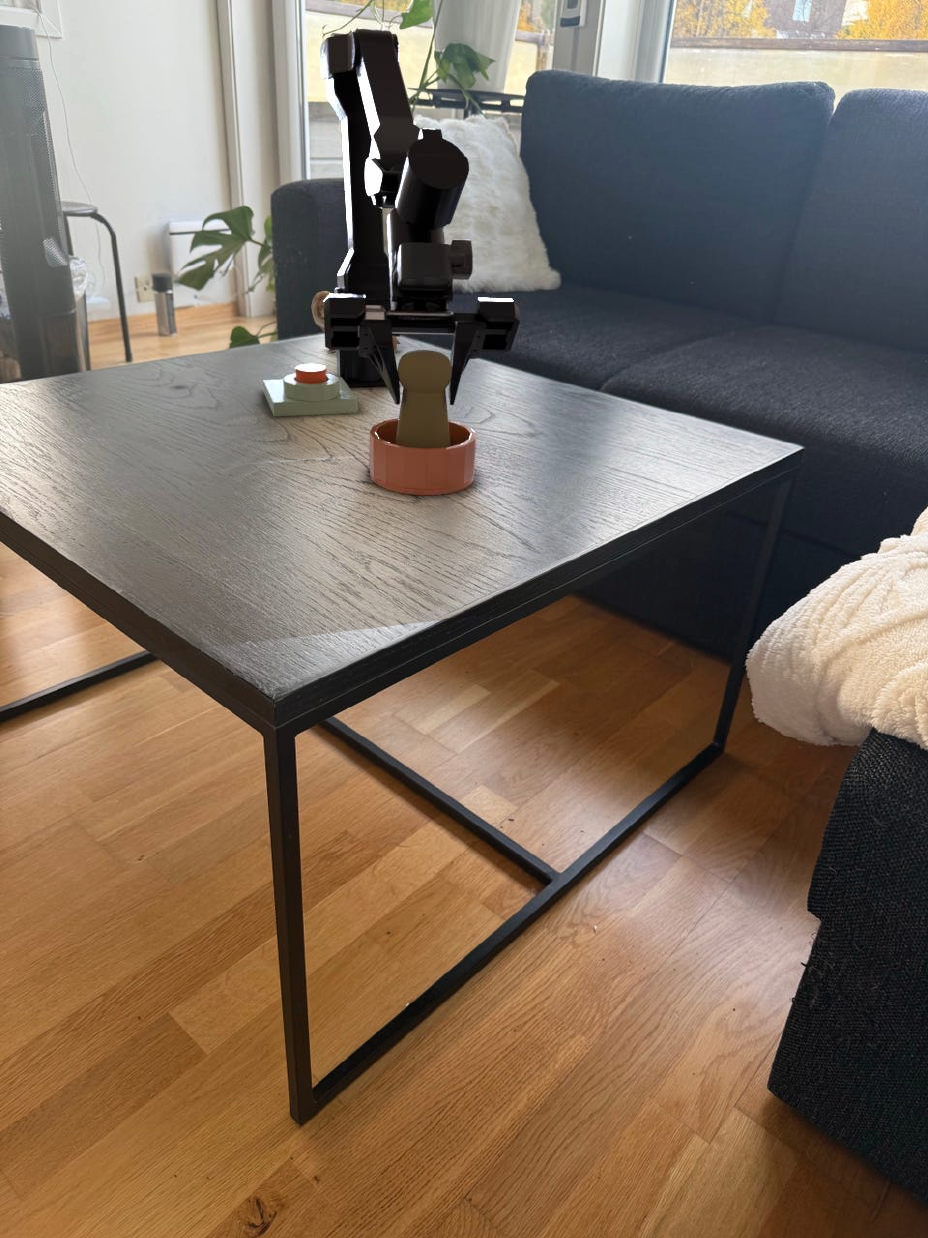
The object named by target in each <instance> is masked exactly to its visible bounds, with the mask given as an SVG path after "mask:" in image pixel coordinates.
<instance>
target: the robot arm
mask: <svg viewBox="0 0 928 1238" xmlns="http://www.w3.org/2000/svg"><path fill="white" fill-rule="evenodd" d="M319 49H320V50H319V69H320V70H319V71H320V76H321V79H322V80H325V87H326V98H327V100H328V103H329V105H331V107H332V109H333V111H334V112H335V115H336V116H337V117H338V119H339V121H340V122H341V134H342V152H343V169H344V170H343V174H344V191H345V192H344V193H345V210H346V211H345V212H346V229H347V231H346V232H347V248H348V249H347V251H348V253H347V255H346V257H345V259H344V262H343V263H342V265H341V267H340V269H339V270H338V273H337V275H336V277H337V278H336V279H337V281H336V283H337V287H335V288H334V289H333V290H334V291H333V294H329V295H328V296H327V297H326V298H325V300H324V331H323V333H324V347H325V348H326V349H328V350H329V349H330V350H336V351H335V360H336V362H335V363H336V365H335V366H336V376H337V377H342V378H343V380H344V381H345V383H346V384H347V385H348V387H349V388H355V387H356V388H357V387H358V388H359V387H360V388H361V387H385V386H386V388H387V390H388V392H389V394H390V396H391V398H392V400H393V402H394V404H395V405H396V406H397V405H398V406H399V405H401V383H400V381H399V376H398V364H397V359H396V353H395V351H394V347H393V338H392V336H396V338H397V337H399V338H400V337H401V334H402V335H403V334H404V335H445V336H446V335H447V336H448V335H450V336H453V340H452V346H451V350H450V355H449V356H450V357H449V360H450V362H451V366H452V377H451V380H450V383H449V385H448V393H447V394H448V395H447V396H448V402H449V405H450V406H454V405H455V402H456V398H457V394H458V391H459V388H460V387H459V386H460V383H461V380H462V376H463V374H464V372H465V369H466V368H467V366H468V363H469V362H470V360H476V359H479V358H480V356H481V353H484V354H486V353H487V354H489V353H490V354H505V353H507V352H510V351H511V350H512V347H513V345H514V343H515V342H514V341H515V338H516V335H517V333H518V329H519V326H520V323H521V316H520V307H519V305H518V304H517V303H516V302H515V300H513V298H496V297H494V298H493V297H491V298H490V297H477V301H476V305H475V308H474V312H453V311H450V304H453V300H454V285H453V283H454V281H455V280H456V281H460V280H461V281H462V280H463V281H468V280H469V279H470V278H471V276H472V274H473V269H474V255H473V245H472V244H473V243H472V240H471V239H455V238H454V239H452V240H451V244H449V243H446V239H445V227H446V226H449V225H451V223H452V222H453V219H454V216H455V213H456V211H457V209H458V204H459V202H460V199H461V196H462V194H463V190H464V188H465V186H466V182H467V179H468V176H469V173H470V162H469V159H468V157H467V156H466V155H465V154H464V152H463V151H462V150H461V149H460V147H458V146H457V145H456V144H454V143H453V142H451V141H450V140H448V139H445V138H444V137H443V132H442V129H441V128H427V127H426V128H425V127H424V128H422V127H421V128H420V127H419V126H418V125H417V123H416V121H415V119H414V114H413V111H412V106H411V103H410V100H409V95H408V91H407V88H406V84H405V80H404V77H403V73H402V68H401V64H400V42H399V38H398V35H397V33H392V32H391V30H389V29H375V28H364V27H363V28H362V27H357V28H356V29H355V30H351V29H350V30H349V31H348V32H347V33H339V32H338V33H336V32H332V33H330V36H328V37H326V38H325V39H324V40H323V41H322V43H321V44H320V48H319ZM383 209H391V211H390V212H389V213H388V215H387V217H386V228H387V229H386V230H387V232H386V233H387V253H388V255H387V253H386V252H385V241H384V240H385V239H384V215H383V214H384V213H383V212H384V211H383Z"/></svg>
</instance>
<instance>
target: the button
mask: <svg viewBox="0 0 928 1238" xmlns="http://www.w3.org/2000/svg"><path fill="white" fill-rule="evenodd" d="M295 373H296V381H297V382H300V383H307V384H316V383H323V382H327V378H326V373H327V367H326V366H325V365H323V364H317V363H304V364H298V365H297V366H295Z"/></svg>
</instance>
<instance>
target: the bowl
mask: <svg viewBox="0 0 928 1238" xmlns="http://www.w3.org/2000/svg"><path fill="white" fill-rule="evenodd" d="M398 421H399V417H397V418H392V419H387V420H383V421H381V422H378V423H376V424H374V425H372V427H371V429H370V430H369V433H368V437H369V438H368V440H369V441H368V446H369V447H368V448H369V449H368V451H369V455H368V456H369V458H368V459H369V471H370V473H369V474H370V479H371V481H372V482H373V483H375V485H377V486H379V487H381V488H383V489H386V490H388V491H391V492H395V493H400V494H405V495H413V496H440V495H446V494H447V495H448V494H452V493H456V492H459V491H462V490H464V489H466V488H468V487H469V486H470V485H471V484H473V481H474V478H475V477H474V475H475V469H476V452H477V450H476V449H477V433H476V431H475V430H474V429H473V428H471V427H470V426H468V425H466V424H463V423H461V422H458V421H455V420H451V419H448V424H449V435H450V446H451V447H447V448H431V449H424V448H410V447H404V446H399V445H395V441H396V434H397V428H398Z"/></svg>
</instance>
